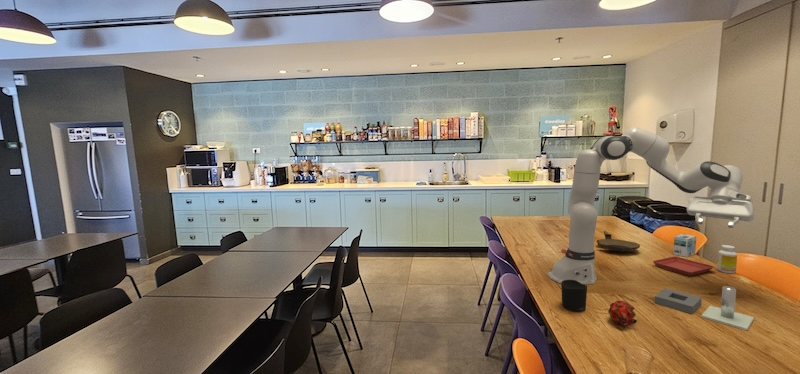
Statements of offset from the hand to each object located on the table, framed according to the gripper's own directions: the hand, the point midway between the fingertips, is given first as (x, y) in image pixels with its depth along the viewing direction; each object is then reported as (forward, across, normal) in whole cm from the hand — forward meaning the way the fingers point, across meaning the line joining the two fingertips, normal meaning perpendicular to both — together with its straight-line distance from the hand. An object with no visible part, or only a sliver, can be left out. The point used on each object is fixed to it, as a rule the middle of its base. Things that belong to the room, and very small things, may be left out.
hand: (714, 225), depth 136 cm
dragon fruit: (+57, -15, -12) cm, 60 cm away
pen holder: (+58, -32, -13) cm, 67 cm away
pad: (+34, +8, +10) cm, 36 cm away
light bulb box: (-18, -23, +63) cm, 69 cm away
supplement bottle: (-7, -2, +51) cm, 52 cm away
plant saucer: (+1, -17, +44) cm, 47 cm away
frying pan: (-7, -51, +52) cm, 73 cm away
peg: (+33, +8, +10) cm, 36 cm away
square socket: (+34, -6, +10) cm, 36 cm away
